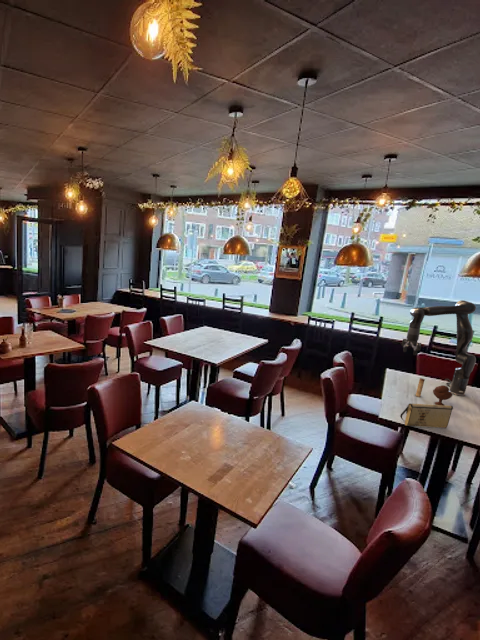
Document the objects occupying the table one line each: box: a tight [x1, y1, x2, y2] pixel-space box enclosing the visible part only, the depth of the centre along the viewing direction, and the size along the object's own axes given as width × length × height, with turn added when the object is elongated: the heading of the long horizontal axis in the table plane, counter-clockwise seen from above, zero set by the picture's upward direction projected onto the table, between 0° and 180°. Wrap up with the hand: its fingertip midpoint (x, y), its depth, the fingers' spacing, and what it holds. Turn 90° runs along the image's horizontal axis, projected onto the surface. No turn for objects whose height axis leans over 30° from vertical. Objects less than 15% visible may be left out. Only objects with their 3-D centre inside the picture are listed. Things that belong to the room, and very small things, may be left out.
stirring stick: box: [415, 377, 426, 398], centre depth 257 cm, size 3×3×14 cm
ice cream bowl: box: [432, 384, 453, 405], centre depth 245 cm, size 11×11×15 cm
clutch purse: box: [399, 403, 454, 429], centre depth 211 cm, size 30×7×15 cm, turn 92°
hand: (409, 353), depth 268 cm, fingers open, 8 cm apart
